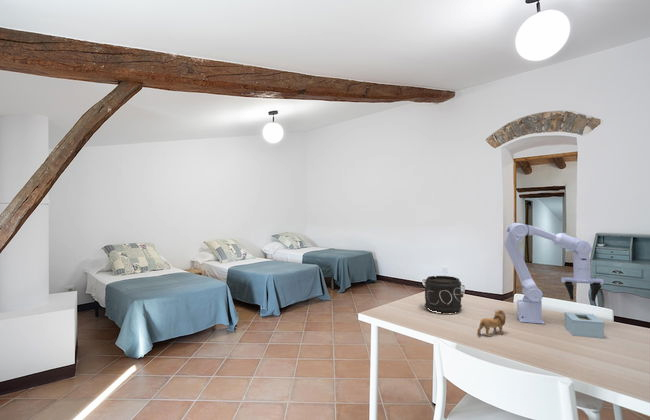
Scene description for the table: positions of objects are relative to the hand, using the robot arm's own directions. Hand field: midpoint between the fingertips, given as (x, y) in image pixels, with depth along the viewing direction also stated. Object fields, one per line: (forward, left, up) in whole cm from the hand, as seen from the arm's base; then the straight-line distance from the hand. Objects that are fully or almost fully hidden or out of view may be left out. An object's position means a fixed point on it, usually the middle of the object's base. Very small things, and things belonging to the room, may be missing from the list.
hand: (582, 300), depth 147 cm
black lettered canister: (-57, +5, -11) cm, 58 cm away
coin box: (-3, -11, -10) cm, 15 cm away
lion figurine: (-38, -24, -11) cm, 46 cm away
